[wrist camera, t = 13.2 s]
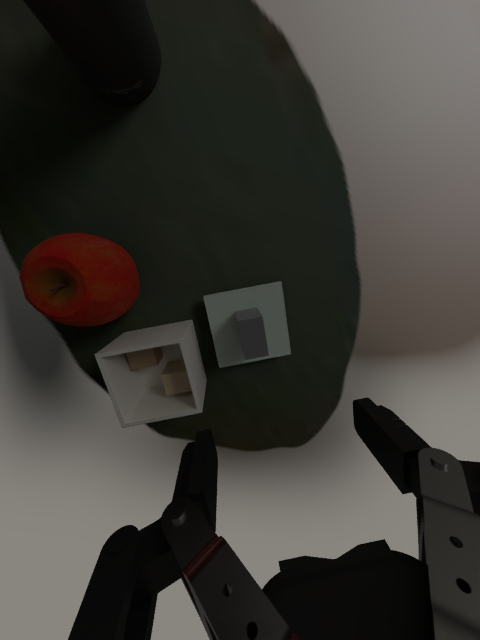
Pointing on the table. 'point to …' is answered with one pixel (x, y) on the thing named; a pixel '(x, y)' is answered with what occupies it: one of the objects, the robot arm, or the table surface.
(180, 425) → the table surface
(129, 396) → the storage box
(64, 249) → the apple
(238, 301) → the lid
